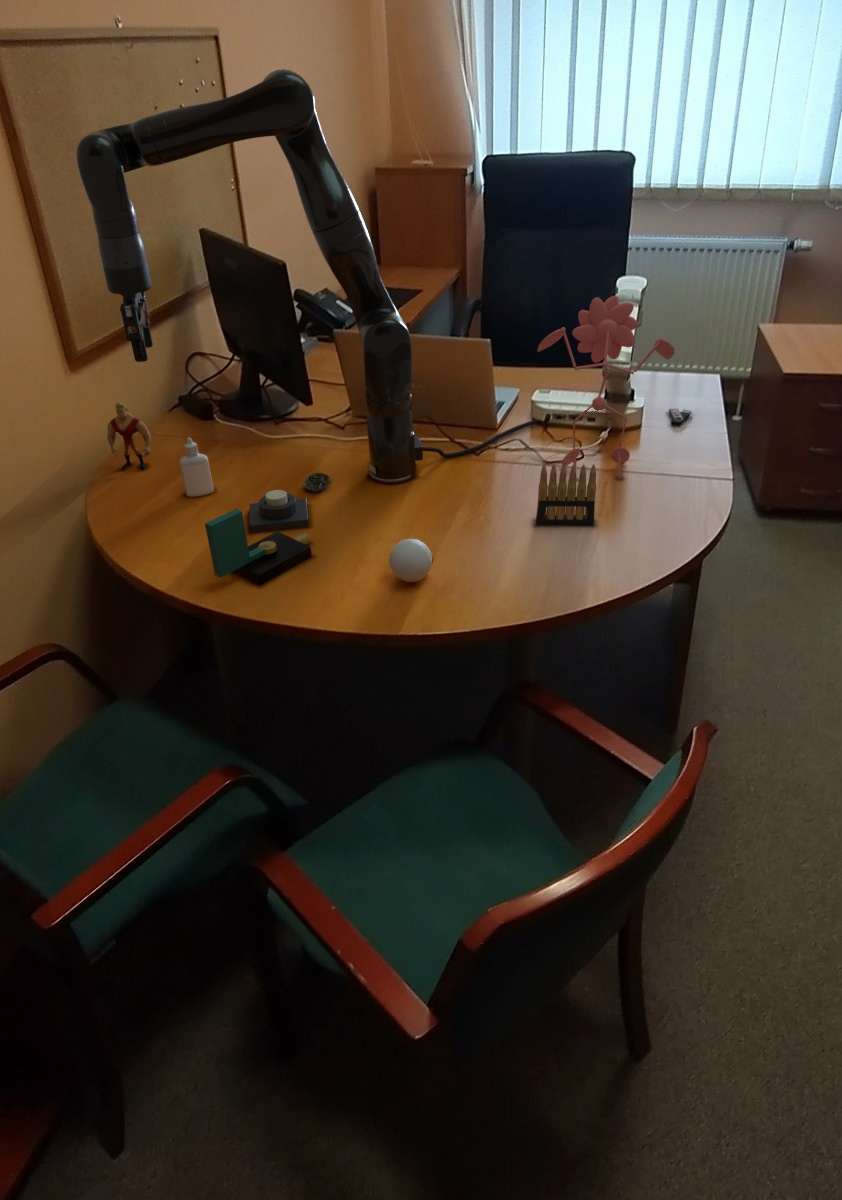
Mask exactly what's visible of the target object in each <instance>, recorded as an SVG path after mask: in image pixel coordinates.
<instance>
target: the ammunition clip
mask: <svg viewBox="0 0 842 1200" xmlns="http://www.w3.org/2000/svg"><path fill="white" fill-rule="evenodd" d="M566 467H567V466H566ZM566 467H565V465H564V464H563V466H562V465H561V469H560V472H559V479H557V477H558V473H557V472H558V471H557V466H556V464H554V463H553V464H552V466H551V469H550V474H549V482H548V470H547V465H546V464H545V463H544V464H542V467H541V469H540V475H539V476H540V478H539V483H538V490H537V491H538V493H537V506H536V514H535V515H536V516H535V524H536V525H537V526H567V527H568V526H573V527H576V526H578V527H579V526H580V527H582V526H583V527H584V526H585V527H589V526H591V527H594V526H595V512H596V511H595V510H596V507H595V506H596V495H597V469H596V465H595V464H592V465H591V468H590V470H589V478H588V482H587V469H586V468H587V467H586V465H585V464H582V466H581V468H580V471H579V477H578V483H577V467H576V468H575V465H574V463H572V465H571V467H570V471H569V478H568V483H567V468H566ZM557 481H558V483H557Z"/></svg>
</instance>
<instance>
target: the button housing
mask: <svg viewBox="0 0 842 1200" xmlns="http://www.w3.org/2000/svg"><path fill="white" fill-rule="evenodd" d="M286 493H287V492H286ZM287 500H288V502H287V503H286V504H284V505H282V506H274V507H273V506H268V505H267V503H266V495H264V496H262V497H260V498H259V500H258V502H255V503H253V502H252V503H249V522H248V523H249V532H250V534H256V533H265V532H266V533H267V532H277V531H285V530H294V529H295V530H296V529H305V528H309V527H310V523H309V522H310V521H309V512H308V501H307V498H305V497H304V498H296V497H295V495H293V494H291V493H287Z"/></svg>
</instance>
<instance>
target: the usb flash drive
mask: <svg viewBox="0 0 842 1200" xmlns="http://www.w3.org/2000/svg"><path fill="white" fill-rule="evenodd" d="M668 413H669V416H670V418H671V421H670V425H671V426H675V427H681V425H682V424H684V422H685V421H687V420H688V419H689V417H690V416H691V415H692V410H689V409H683V410H682V411H680V410H679V408H669V409H668Z"/></svg>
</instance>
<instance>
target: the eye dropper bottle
mask: <svg viewBox="0 0 842 1200" xmlns="http://www.w3.org/2000/svg"><path fill="white" fill-rule="evenodd" d="M184 450H185V451H184V452H185V455H184V456H182V457H181V458H180V459H179V466H180V473H181V477H182V481H183V482H182V483H183V486H184V492H185V495H186V496H187V497H190V498H191V497H193V498H194V497H196V498H197V497H203V496H206V495H209V494H212V493H213V492H214V490H215V489H214V488H215V487H214V483H213V478H212V474H211V473H212V472H211V467H210V463H209V458H208V456H207V455H206V454H204V453H200V452H199V449H198V444H197V443H196V442H194V441H193V440H192V437H187V443H185V444H184Z"/></svg>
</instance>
